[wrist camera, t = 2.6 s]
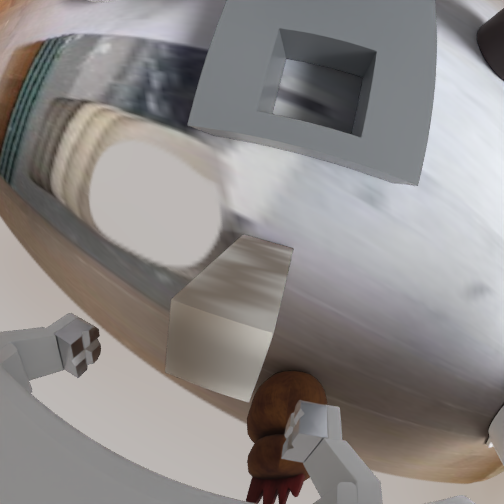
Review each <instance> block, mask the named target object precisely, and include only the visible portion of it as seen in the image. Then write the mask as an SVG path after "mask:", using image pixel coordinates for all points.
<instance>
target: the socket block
mask: <svg viewBox="0 0 504 504" xmlns="http://www.w3.org/2000/svg"><path fill="white" fill-rule="evenodd" d="M436 57H437V25H436V7H435V0H227V1H226V3H225V6H224V8H223V11H222V14H221V16H220V19H219V22H218V24H217V27H216V30H215V33H214V36H213V39H212V42H211V44H210V47H209V51H208V54H207V57H206V60H205V63H204V66H203V70H202V73H201V76H200V80H199V83H198V87H197V90H196V94H195V97H194V101H193V105H192V109H191V113H190V117H189V121H188V126H191V127H193V128H196V129H199V130H201V131H204V132H206V133H209V134H211V135H214V136H219V137H225V138H230V139H236V140H241V141H246V142H251V143H256V144H260V145H265V146H269V147H274V148H278V149H282V150H286V151H290V152H294V153H298V154H302V155H306V156H310V157H313V158H317V159H320V160H324V161H327V162H331V163H334V164H338V165H341V166H344V167H347V168H350V169H353V170H357V171H360V172H363V173H366V174H369V175H371V176H374V177H377V178H380V179H383V180H386V181H388V182H391V183H395V184H406V185H415V186H418V183H419V179H420V175H421V170H422V166H423V161H424V156H425V151H426V146H427V141H428V135H429V129H430V122H431V115H432V108H433V99H434V89H435V77H436ZM286 59H292V60H297V61H302V62H307V63H312V64H316V65H320V66H325V67H329V68H332V69H336V70H340V71H343V72H347V73H350V74H354V75H357V76H360V77H363V80H362V85H361V91H360V96H359V101H358V106H357V111H356V116H355V120H354V125H353V130H352V134H348V133H345V132H342V131H338V130H335V129H331V128H328V127H324V126H321V125H317V124H313V123H309V122H305V121H301V120H297V119H293V118H288V117H284V116H279V115H274V114H272V113H273V109H274V105H275V101H276V97H277V93H278V89H279V85H280V81H281V77H282V73H283V69H284V65H285V62H286Z"/></svg>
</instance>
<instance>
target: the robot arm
mask: <svg viewBox="0 0 504 504" xmlns="http://www.w3.org/2000/svg"><path fill="white" fill-rule="evenodd" d="M98 337H99V329H98V328H96V327H95V326H93V325H91V324H90V323H88V322H86V321H84V320H83V319H81V318H79V317H77V316H76V315H74V314H72V313H69V314H67V315H65V316H64V317H62V318H61V319H59V320H58V321H56V322H55V323H53V324H52V325H50V326H49V327H47V328H44V327H41V328H32V329H23V330H14V331H4V332H0V504H256V503H251V502H246V501H241V500H237V499H233V498H229V497H225V496H221V495H217V494H214V493H211V492H207V491H204V490H201V489H198V488H195V487H192V486H188V485H186V484H183V483H181V482H178V481H175V480H172V479H170V478H168V477H165V476H163V475H160V474H158V473H156V472H153V471H151V470H149V469H147V468H144V467H142V466H140V465H138V464H136V463H134V462H132V461H130V460H128V459H126V458H124V457H122V456H120V455H118V454H116V453H115V452H113V451H111V450H109V449H108V448H106V447H104V446H102V445H101V444H99V443H98V442H96V441H94V440H93V439H91V438H89V437H88V436H86V435H85V434H83V433H82V432H80V431H79V430H77V429H76V428H74V427H73V426H71V425H70V424H69V423H67V422H66V421H64V420H63V419H62V418H60V417H59V416H58V415H56V414H55V413H53V412H52V411H51V410H50V409H49V408H47V407H46V406H45V405H44V404H42V403H41V402H40V401H39V400H38V399H36V398H35V397H34V396H33V395H32V394H31V392H32V387H31V385H30V382H29V380H32V379H36V378H39V377H42V376H46V375H49V374H52V373H56V372H59V371H61V370H66V371H68V372H69V373H71V374H72V375H74V376H76V377H77V378H79V377H80V376H81V375H82V374H83V373H84V372H85V371H86V370H87V365H89V364H93V363H94V362H95V361H96V360H97V359H98V357H99V355H100V352H101V345H100V343H99V341H98V339H97V338H98ZM488 433H489V439H488V441H487V443H486V444H487V446H488V448H490V447H494V448H495V450H496V452H497V454H498V456H499V458H500V460H501V462H502V463H503V465H504V406H503V407H502V408H501V410H500V411H499V412H498V414H497V415H496V416H495V418H494V419H493V421H492V423H491V425H490V427H489V431H488ZM284 436H285V437H286V441H285V443H284V444H283V450H282V457H281V459H286V460H291V461H296V462H302V463H303V464H304V466H305V468H306V470H307V472H308V474H309V476H310V477H311V479H312V481H313V483H314V485H315V487H316V489H317V491H318V493H319V495H320V496H321V498H320V499H319V500H317V501H316V502H315V503H313V504H383V503H382V492H381V483H380V481H379V479H378V478H377V477H376V476H375V475H374V474H373V472H372V471H371V470H370V469H369V468H368V467H367V465H366V464H365V463H364V462H363V461H362V459H361V458H360V457H359V456H358V455H357V453H356V452H355V451H354V450H353V449H352V447H351V446H350V445H349V444H348V442H347V441H345V440H342V428H341V415H340V408H339V407H337V406H330V405H324V404H318V403H313V402H307V401H302V400H299V401H298V402H297V404H296V406H295V412H294V413H292V414H291V415H290V417H289V419H288V422H287V425H286V429H285V435H284ZM425 504H475V503H474V502H473V501H472V500H471V499H469V498H468V497H466V496H463V495H460V496H454V497H451V498H447V499H443V500H439V501H435V502H431V503H425Z"/></svg>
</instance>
